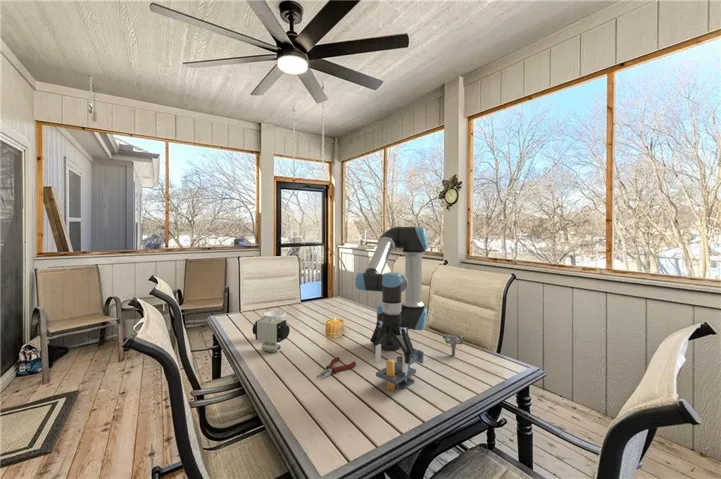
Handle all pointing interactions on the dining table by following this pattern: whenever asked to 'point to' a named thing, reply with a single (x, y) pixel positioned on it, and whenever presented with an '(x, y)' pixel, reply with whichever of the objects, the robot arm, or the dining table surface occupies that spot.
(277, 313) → the cup
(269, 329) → the ball valve
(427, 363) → the dining table surface
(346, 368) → the pliers
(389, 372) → the orange rounded rod
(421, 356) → the grey toggle clamp
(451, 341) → the mechanical component
